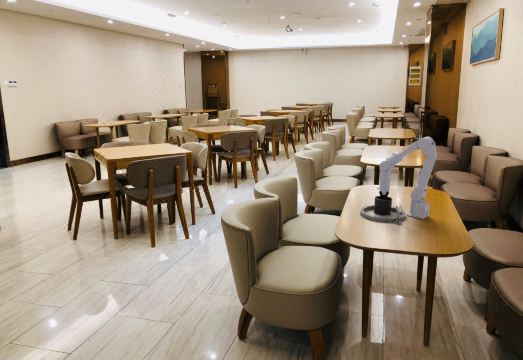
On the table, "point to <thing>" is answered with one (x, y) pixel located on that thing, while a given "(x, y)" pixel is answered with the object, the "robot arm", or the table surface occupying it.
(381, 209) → the mug
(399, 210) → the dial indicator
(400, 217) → the ring
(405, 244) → the table surface
